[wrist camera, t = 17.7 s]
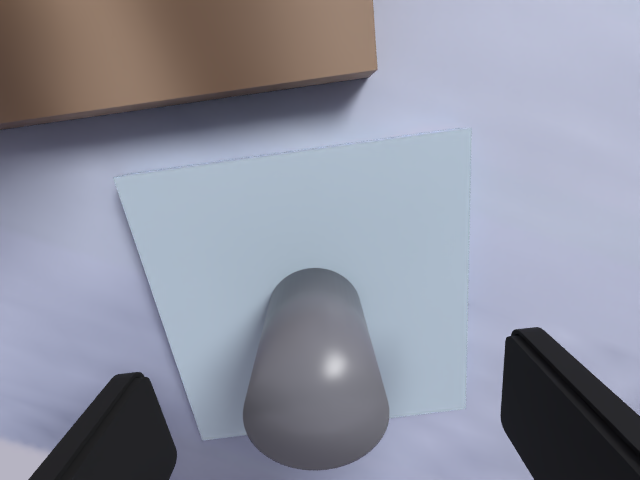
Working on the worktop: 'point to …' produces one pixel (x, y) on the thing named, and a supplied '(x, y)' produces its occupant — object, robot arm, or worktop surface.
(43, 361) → the worktop surface
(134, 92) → the board
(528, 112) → the worktop surface
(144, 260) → the lid
